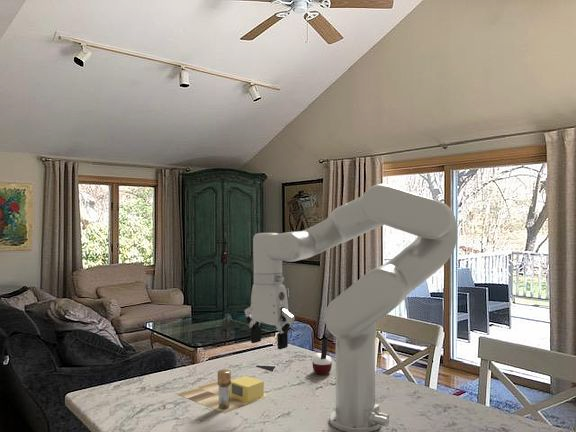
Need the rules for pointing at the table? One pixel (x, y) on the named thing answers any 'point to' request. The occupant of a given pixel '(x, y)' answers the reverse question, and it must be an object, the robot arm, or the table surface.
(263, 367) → the smartphone
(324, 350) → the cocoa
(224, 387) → the two-tone metal cylinder
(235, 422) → the table surface
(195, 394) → the subfloor panel
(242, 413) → the table surface
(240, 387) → the yellow rectangular block
